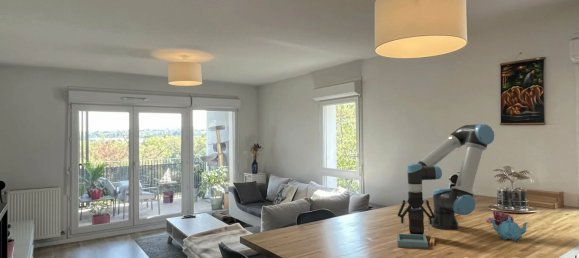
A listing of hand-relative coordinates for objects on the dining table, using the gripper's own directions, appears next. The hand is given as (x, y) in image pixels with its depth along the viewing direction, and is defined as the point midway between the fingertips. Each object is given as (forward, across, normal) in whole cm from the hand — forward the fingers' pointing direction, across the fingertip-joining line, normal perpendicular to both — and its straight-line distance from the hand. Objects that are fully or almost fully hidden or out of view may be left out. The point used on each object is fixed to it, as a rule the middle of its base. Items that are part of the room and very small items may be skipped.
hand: (416, 229), depth 196 cm
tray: (+3, +4, +15) cm, 16 cm away
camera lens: (+4, 0, 0) cm, 4 cm away
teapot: (+4, -47, -4) cm, 47 cm away
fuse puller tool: (+3, -7, +11) cm, 13 cm away
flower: (+4, -49, -27) cm, 56 cm away
